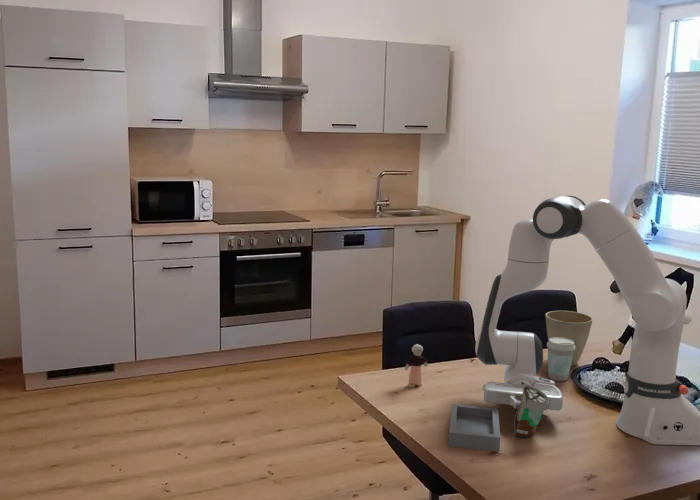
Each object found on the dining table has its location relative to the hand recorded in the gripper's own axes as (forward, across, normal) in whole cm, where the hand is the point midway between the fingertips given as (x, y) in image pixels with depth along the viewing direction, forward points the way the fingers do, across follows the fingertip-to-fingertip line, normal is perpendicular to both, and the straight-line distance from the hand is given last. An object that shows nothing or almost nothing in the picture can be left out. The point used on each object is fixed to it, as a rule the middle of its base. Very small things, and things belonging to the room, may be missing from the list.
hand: (523, 406), depth 173 cm
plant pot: (-59, +17, +5) cm, 61 cm away
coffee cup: (-43, +13, +6) cm, 45 cm away
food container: (+2, +1, +6) cm, 6 cm away
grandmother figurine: (-24, -30, +6) cm, 39 cm away
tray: (+5, -12, +6) cm, 15 cm away
